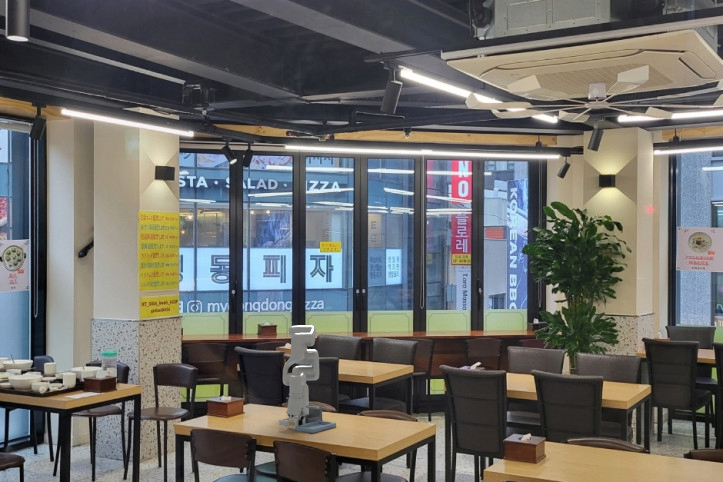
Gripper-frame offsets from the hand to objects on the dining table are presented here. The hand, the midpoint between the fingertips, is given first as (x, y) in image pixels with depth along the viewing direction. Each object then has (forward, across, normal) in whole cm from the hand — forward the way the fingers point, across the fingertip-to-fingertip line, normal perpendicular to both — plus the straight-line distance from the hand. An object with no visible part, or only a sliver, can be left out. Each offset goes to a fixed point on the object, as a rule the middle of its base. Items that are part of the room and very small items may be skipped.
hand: (296, 425), depth 483 cm
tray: (+1, +13, +3) cm, 13 cm away
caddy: (+1, 0, -3) cm, 4 cm away
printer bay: (+1, 0, +12) cm, 12 cm away
